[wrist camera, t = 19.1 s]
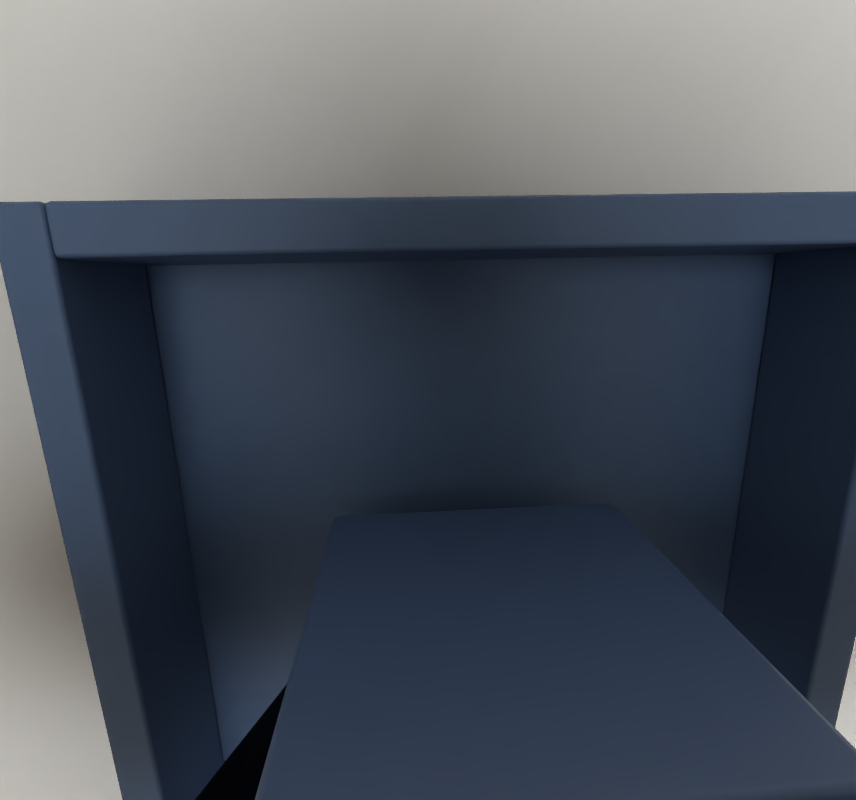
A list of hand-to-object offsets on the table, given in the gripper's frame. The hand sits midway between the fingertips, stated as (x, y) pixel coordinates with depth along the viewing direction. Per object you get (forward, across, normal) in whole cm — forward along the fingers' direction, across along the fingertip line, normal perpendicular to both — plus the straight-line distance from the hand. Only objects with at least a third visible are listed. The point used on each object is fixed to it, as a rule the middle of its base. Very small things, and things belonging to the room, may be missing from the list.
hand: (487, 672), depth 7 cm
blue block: (+1, 0, 0) cm, 1 cm away
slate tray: (+2, 0, 0) cm, 2 cm away
